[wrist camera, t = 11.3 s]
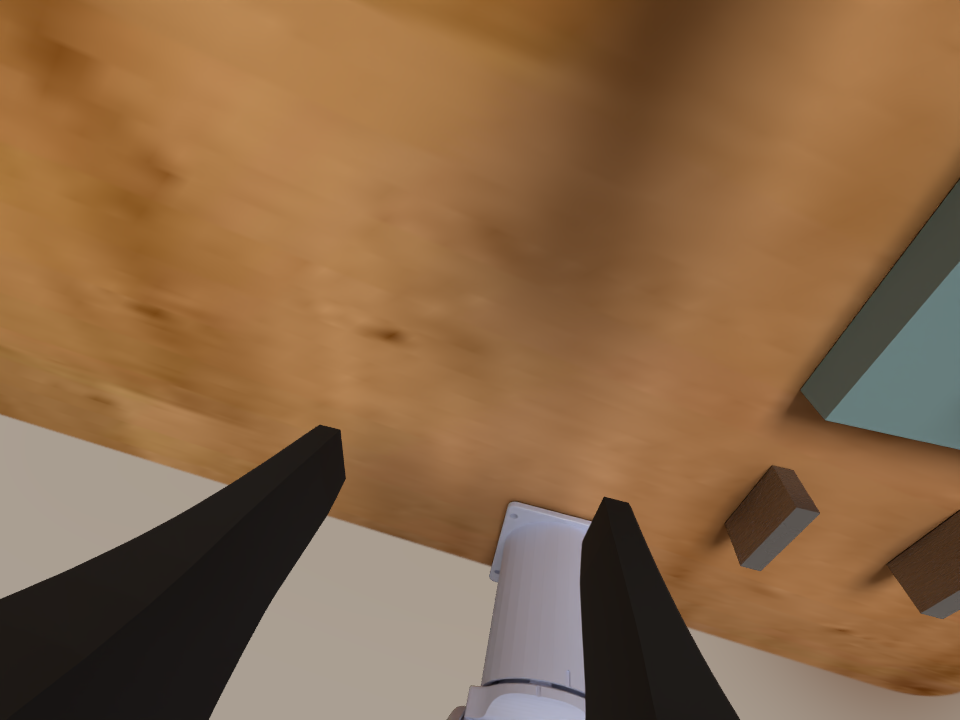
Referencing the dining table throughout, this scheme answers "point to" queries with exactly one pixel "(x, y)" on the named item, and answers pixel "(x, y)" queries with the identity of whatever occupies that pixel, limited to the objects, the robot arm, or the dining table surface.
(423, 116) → the dining table surface
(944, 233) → the socket board
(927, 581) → the metal stand
